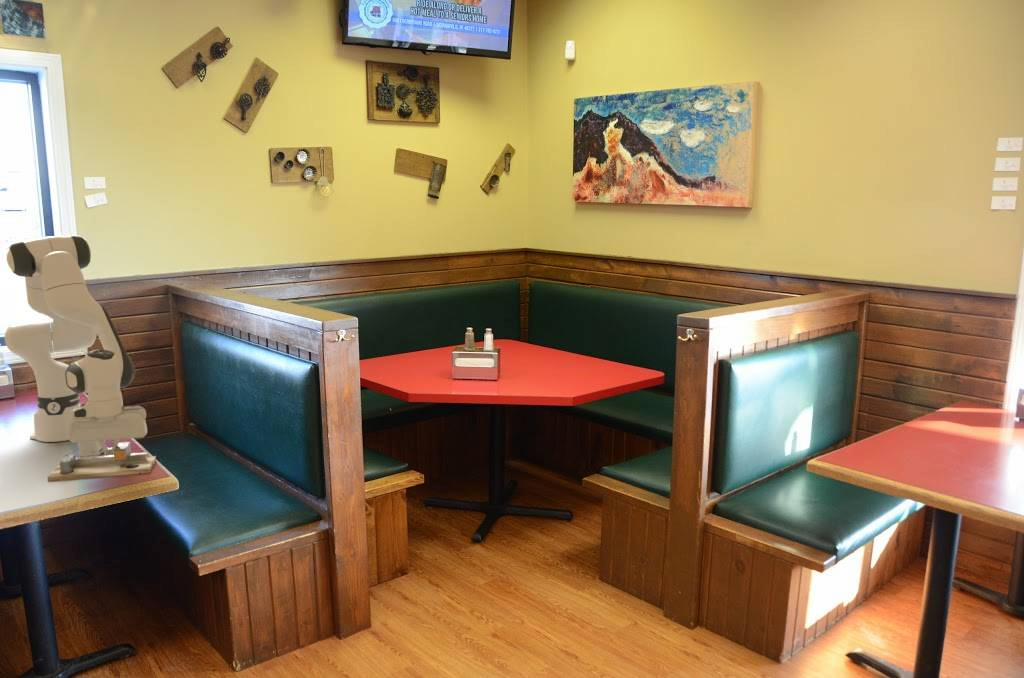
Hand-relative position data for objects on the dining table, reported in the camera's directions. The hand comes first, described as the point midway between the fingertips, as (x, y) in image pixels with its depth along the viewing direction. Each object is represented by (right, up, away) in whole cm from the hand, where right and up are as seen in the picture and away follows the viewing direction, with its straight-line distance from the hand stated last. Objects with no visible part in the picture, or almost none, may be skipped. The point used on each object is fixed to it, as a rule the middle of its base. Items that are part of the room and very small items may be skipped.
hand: (110, 454), depth 234 cm
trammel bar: (-2, -3, +1) cm, 4 cm away
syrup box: (-14, -2, +16) cm, 21 cm away
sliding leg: (+3, -3, +1) cm, 5 cm away
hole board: (-2, -5, +1) cm, 5 cm away
